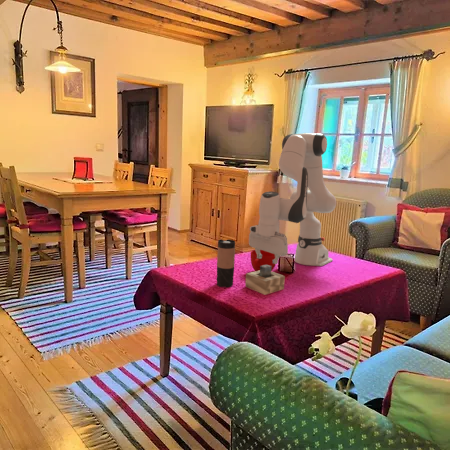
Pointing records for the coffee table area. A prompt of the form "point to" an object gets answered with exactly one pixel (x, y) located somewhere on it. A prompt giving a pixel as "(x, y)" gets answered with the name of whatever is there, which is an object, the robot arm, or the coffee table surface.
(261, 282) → the well block
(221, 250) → the travel mug
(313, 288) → the coffee table surface
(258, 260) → the ceramic cup
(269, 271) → the grey rectangular block
